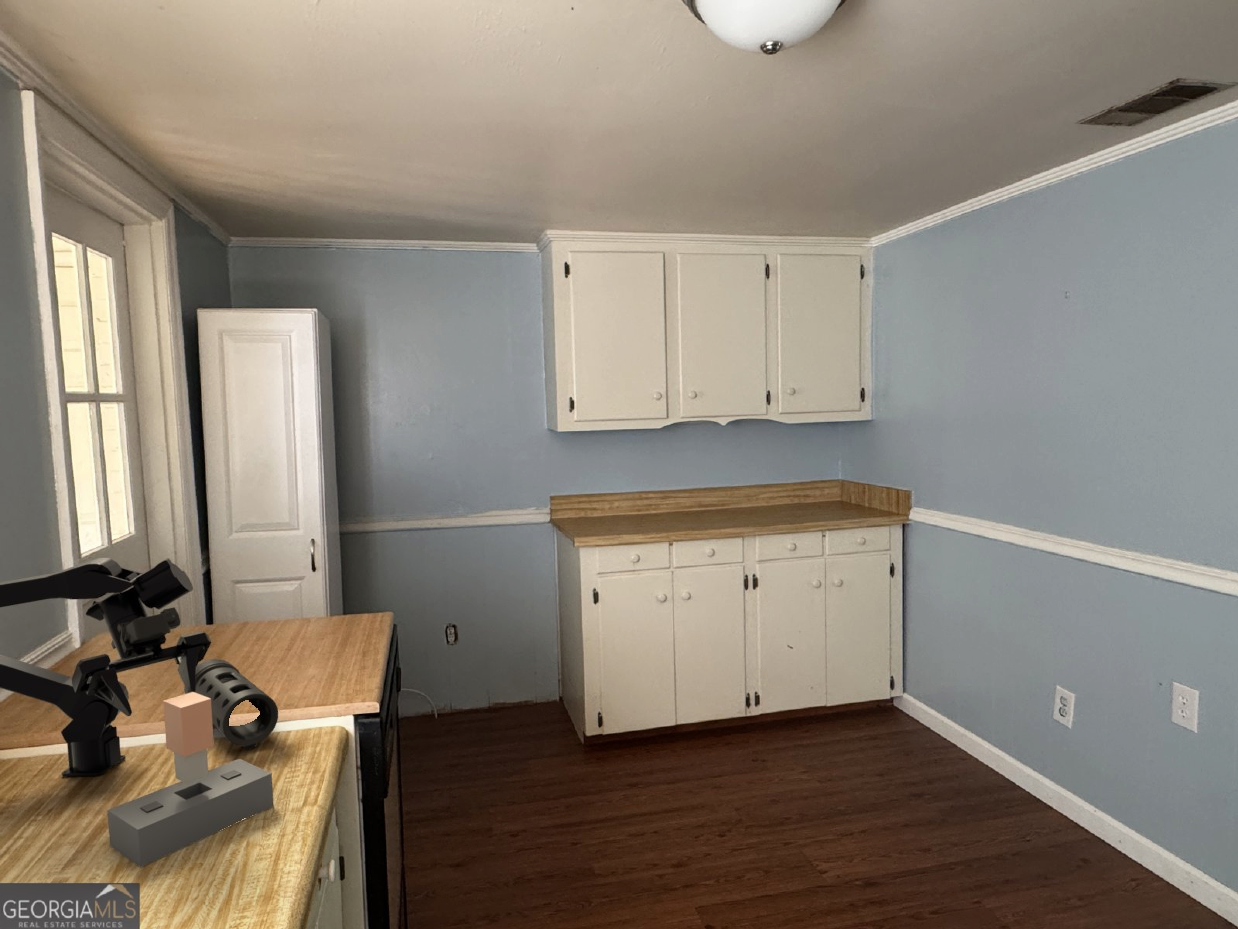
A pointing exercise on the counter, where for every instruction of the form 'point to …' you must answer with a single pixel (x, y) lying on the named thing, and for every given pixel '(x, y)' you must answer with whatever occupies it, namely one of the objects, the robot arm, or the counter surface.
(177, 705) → the plug
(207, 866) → the counter surface
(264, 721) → the muzzle brake
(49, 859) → the counter surface
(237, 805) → the socket block
